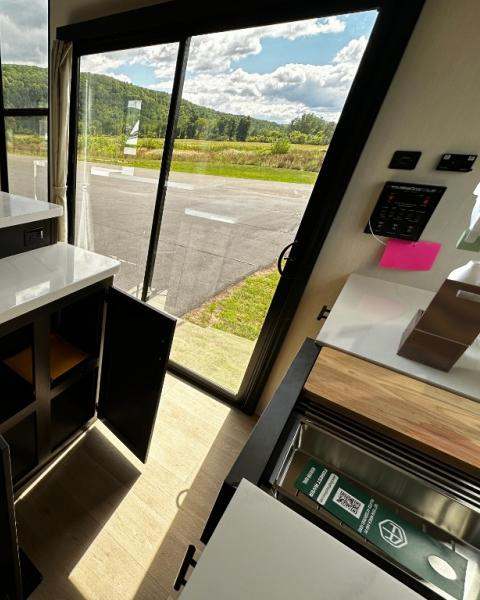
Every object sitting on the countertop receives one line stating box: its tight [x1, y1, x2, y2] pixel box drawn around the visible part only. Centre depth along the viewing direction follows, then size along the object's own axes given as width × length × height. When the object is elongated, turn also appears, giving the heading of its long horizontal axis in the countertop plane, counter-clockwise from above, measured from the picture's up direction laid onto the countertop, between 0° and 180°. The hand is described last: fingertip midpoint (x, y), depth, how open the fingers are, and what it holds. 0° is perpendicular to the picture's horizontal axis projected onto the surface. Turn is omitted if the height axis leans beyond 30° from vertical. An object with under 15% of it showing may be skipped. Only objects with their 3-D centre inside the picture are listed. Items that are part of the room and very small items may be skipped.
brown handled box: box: [414, 277, 480, 347], centre depth 84 cm, size 16×11×5 cm
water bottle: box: [447, 259, 480, 286], centre depth 101 cm, size 9×6×25 cm
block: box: [455, 229, 480, 253], centre depth 90 cm, size 4×4×4 cm
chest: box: [396, 308, 470, 374], centre depth 96 cm, size 15×11×10 cm
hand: (469, 238), depth 90 cm, fingers closed on block, 4 cm apart
